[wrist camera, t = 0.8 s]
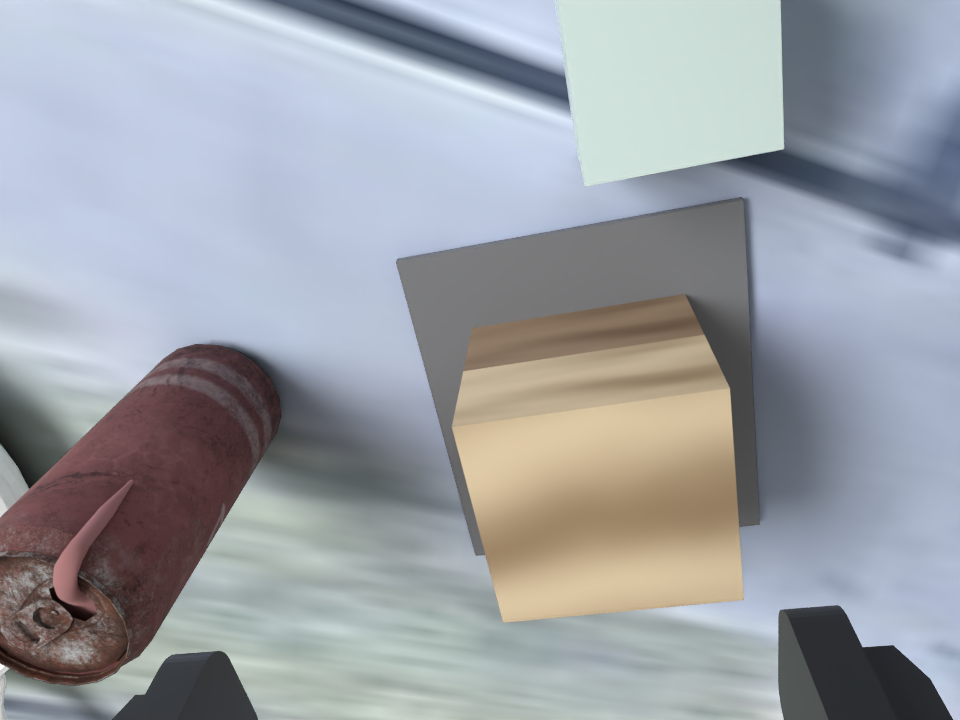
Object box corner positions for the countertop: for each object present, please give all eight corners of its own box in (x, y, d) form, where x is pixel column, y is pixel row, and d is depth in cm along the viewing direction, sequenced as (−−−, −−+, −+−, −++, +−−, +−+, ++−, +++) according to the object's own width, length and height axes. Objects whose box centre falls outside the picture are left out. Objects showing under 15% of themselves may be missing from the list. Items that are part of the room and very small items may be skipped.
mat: (397, 259, 31) (395, 261, 30) (740, 197, 28) (743, 199, 28) (476, 550, 37) (475, 555, 37) (757, 519, 35) (759, 524, 35)
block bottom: (472, 328, 31) (463, 371, 28) (684, 293, 30) (704, 334, 26) (510, 495, 35) (507, 551, 32) (701, 471, 34) (720, 528, 30)
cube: (551, -22, 26) (554, -26, 20) (727, -63, 25) (778, -78, 19) (576, 149, 28) (584, 186, 23) (736, 118, 27) (784, 148, 22)
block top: (463, 371, 28) (451, 427, 24) (704, 334, 26) (729, 388, 23) (507, 551, 32) (503, 622, 28) (720, 528, 30) (743, 600, 27)
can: (299, 361, 33) (153, 583, 21) (269, 466, 36) (124, 717, 24) (169, 314, 33) (-61, 514, 20) (149, 425, 35) (-64, 660, 23)
